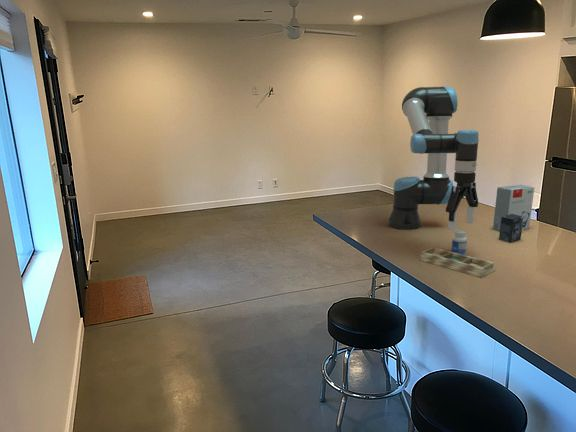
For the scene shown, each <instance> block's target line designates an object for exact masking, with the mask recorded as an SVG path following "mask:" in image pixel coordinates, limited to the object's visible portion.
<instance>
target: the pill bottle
mask: <svg viewBox="0 0 576 432" xmlns="http://www.w3.org/2000/svg"><path fill="white" fill-rule="evenodd" d="M466 235H467V233H466V231H465V230H461V229H456V230H454V235H453V236H452V243H451V252H454V253H458V254H462V255H465V256H467V244H468V237H467V236H466Z"/></svg>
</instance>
